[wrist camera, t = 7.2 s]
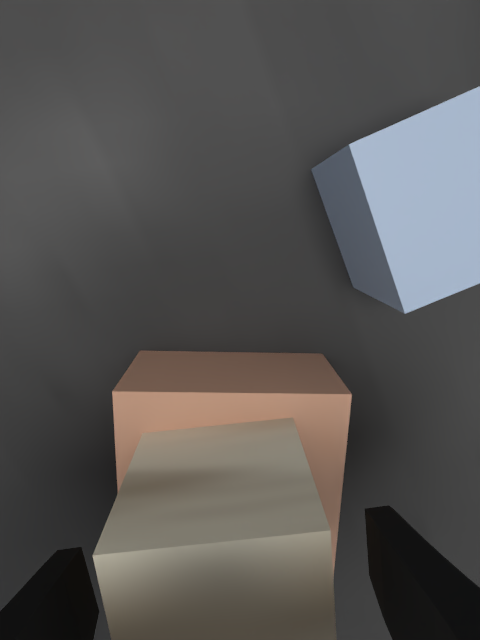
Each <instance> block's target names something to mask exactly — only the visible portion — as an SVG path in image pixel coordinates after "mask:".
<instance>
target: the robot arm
mask: <svg viewBox="0 0 480 640" xmlns="http://www.w3.org/2000/svg"><path fill="white" fill-rule="evenodd" d="M365 519H366V534H367V548H368V563H369V576H370V579H371V582H372V585H373V588H374V591H375V594H376V597H377V600H378V603H379V606H380V609H381V612H382V615H383V618H384V621H385V623H386V625H387V628H388V630H389V632H390V635H391V637H392V639H393V640H480V588H479V587H478V586H477V585H476V584H475V583H473V582H472V581H471V580H470V579H469V578H467V577H466V576H465V575H464V574H463V573H462V572H461V571H459V570H458V569H457V568H456V567H455V566H454V565H453V564H451V563H450V562H449V561H448V560H447V559H446V558H445V557H443V556H442V555H441V554H440V553H439V552H438V551H437V550H436V549H435V548H434V547H433V546H431V545H430V544H429V543H428V542H427V541H426V540H425V539H424V538H423V537H422V536H421V535H420V534H419V533H418V532H417V531H416V530H414V529H413V528H412V527H411V526H410V525H409V524H408V523H407V522H406V521H405V520H404V519H403V518H402V517H401V516H400V515H399V514H398V513H397V512H396V511H395V510H394V509H393V508H391V507H390V506H382V507H375V508H367V509H365ZM98 614H99V609H98V606H97V602H96V598H95V595H94V591H93V587H92V584H91V580H90V576H89V573H88V569H87V566H86V562H85V558H84V555H83V551H82V547H78V548H71V549H64V550H57V551H56V552H55V553H54V554H53V556H52V557H51V558H50V559H49V560H48V561H47V562H46V563H45V564H44V565H43V566H42V567H41V568H40V569H39V570H38V571H37V572H36V574H35V575H34V576H33V577H32V578H31V579H30V580H29V581H28V582H27V583H26V584H25V586H24V587H23V588H22V589H21V590H20V591H19V592H18V593H17V594H16V595H15V596H14V597H13V599H12V600H11V601H10V602H9V603H8V604H7V605H6V606H5V607H4V608H3V609H2V610H1V611H0V640H93V638H94V633H95V629H96V624H97V619H98Z"/></svg>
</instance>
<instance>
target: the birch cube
mask: <svg viewBox="0 0 480 640" xmlns="http://www.w3.org/2000/svg"><path fill="white" fill-rule="evenodd" d="M93 560H94V564H95V569H96V573H97V578H98V582H99V586H100V591H101V595H102V600H103V604H104V609H105V613H106V618H107V622H108V626H109V631H110V635H111V640H336V623H335V604H334V584H333V565H332V546H331V530H330V527H329V524H328V521H327V518H326V515H325V512H324V509H323V506H322V503H321V500H320V497H319V494H318V491H317V488H316V485H315V482H314V479H313V476H312V473H311V470H310V467H309V464H308V461H307V458H306V455H305V452H304V449H303V446H302V443H301V440H300V437H299V434H298V431H297V428H296V425H295V422H294V419H293V417H292V418H282V419H273V420H263V421H254V422H244V423H235V424H225V425H216V426H206V427H196V428H187V429H177V430H168V431H158V432H149V433H142V436H141V438H140V441H139V443H138V446H137V448H136V450H135V453H134V455H133V458H132V460H131V463H130V465H129V468H128V470H127V473H126V475H125V477H124V480H123V482H122V485H121V487H120V490H119V492H118V495H117V497H116V499H115V502H114V504H113V507H112V509H111V512H110V514H109V517H108V519H107V521H106V524H105V526H104V529H103V531H102V534H101V536H100V539H99V541H98V543H97V546H96V548H95V551H94V553H93Z"/></svg>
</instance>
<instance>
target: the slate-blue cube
mask: <svg viewBox="0 0 480 640" xmlns="http://www.w3.org/2000/svg"><path fill="white" fill-rule="evenodd" d="M311 171H312V173H313V176H314V179H315V182H316V185H317V187H318V190H319V193H320V196H321V199H322V201H323V204H324V207H325V210H326V213H327V215H328V218H329V221H330V224H331V227H332V229H333V232H334V235H335V238H336V241H337V243H338V246H339V249H340V252H341V254H342V257H343V260H344V263H345V266H346V268H347V271H348V274H349V277H350V280H351V282H352V285H353V288H355V289H357V290H359V291H361V292H363V293H365V294H367V295H369V296H371V297H373V298H375V299H377V300H379V301H381V302H383V303H385V304H387V305H389V306H391V307H393V308H395V309H397V310H399V311H401V312H402V313H404V314H405V313H408V312H410V311H413V310H415V309H418V308H420V307H423V306H425V305H427V304H430V303H432V302H435V301H437V300H440V299H442V298H445V297H447V296H449V295H452V294H454V293H457V292H459V291H462V290H464V289H467V288H469V287H471V286H474V285H476V284H479V283H480V87H477V88H475V89H473V90H471V91H468V92H466V93H464V94H462V95H459V96H457V97H455V98H453V99H450V100H448V101H446V102H443V103H441V104H439V105H437V106H434V107H432V108H430V109H428V110H425V111H423V112H421V113H419V114H416V115H414V116H412V117H410V118H407V119H405V120H403V121H401V122H398V123H396V124H394V125H392V126H389V127H387V128H385V129H383V130H380V131H378V132H376V133H374V134H371V135H369V136H367V137H364V138H362V139H360V140H358V141H355V142H353V143H351V144H349V145H347V146H346V147H344V148H343V149H341V150H340V151H338V152H337V153H335V154H334V155H332V156H331V157H329V158H327V159H326V160H324V161H323V162H321V163H320V164H318V165H317V166H315V167H314V168H312V169H311Z"/></svg>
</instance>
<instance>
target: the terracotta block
mask: <svg viewBox="0 0 480 640" xmlns="http://www.w3.org/2000/svg"><path fill="white" fill-rule="evenodd" d="M112 395H113V414H114V432H115V451H116V469H117V488H118V492H119V490H120V487H121V485H122V482H123V480H124V477H125V475H126V473H127V470H128V468H129V465H130V463H131V460H132V458H133V455H134V453H135V450H136V448H137V446H138V443H139V441H140V438H141V436H142V433H149V432H158V431H168V430H177V429H187V428H196V427H206V426H216V425H225V424H235V423H244V422H254V421H263V420H273V419H282V418H292V417H293V419H294V422H295V425H296V428H297V431H298V434H299V437H300V440H301V443H302V446H303V449H304V452H305V455H306V458H307V461H308V464H309V467H310V470H311V473H312V476H313V479H314V482H315V485H316V488H317V491H318V494H319V497H320V500H321V503H322V506H323V509H324V512H325V515H326V518H327V521H328V524H329V527H330V530H331V546H332V565H333V575H334V565H335V555H336V545H337V536H338V526H339V516H340V506H341V496H342V486H343V477H344V467H345V457H346V447H347V437H348V428H349V418H350V408H351V398H352V394H351V392H350V391H349V390H348V388H347V387H346V386H345V384H344V383H343V381H342V380H341V379H340V377H339V376H338V374H337V373H336V372H335V370H334V369H333V368H332V366H331V365H330V363H329V362H328V361H327V359H326V358H325V356H324V355H323V354H316V353H254V352H193V351H139V353H138V354H137V356H136V357H135V359H134V360H133V362H132V363H131V365H130V366H129V368H128V369H127V371H126V372H125V373H124V375H123V376H122V378H121V379H120V381H119V382H118V384H117V385H116V387H115V388H114V390H113V391H112Z"/></svg>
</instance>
